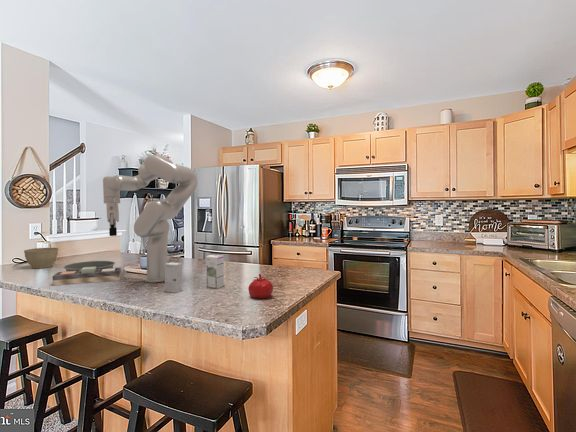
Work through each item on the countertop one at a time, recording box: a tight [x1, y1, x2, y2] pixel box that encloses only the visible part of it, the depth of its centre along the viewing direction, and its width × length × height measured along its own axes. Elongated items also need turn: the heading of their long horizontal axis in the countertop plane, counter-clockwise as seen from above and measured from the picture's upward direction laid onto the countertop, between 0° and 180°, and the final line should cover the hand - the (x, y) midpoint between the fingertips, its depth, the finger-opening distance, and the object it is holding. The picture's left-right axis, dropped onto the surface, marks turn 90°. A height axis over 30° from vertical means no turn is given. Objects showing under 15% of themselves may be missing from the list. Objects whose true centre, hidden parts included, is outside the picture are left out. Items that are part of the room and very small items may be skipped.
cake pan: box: [63, 260, 116, 271], centre depth 175 cm, size 25×25×4 cm
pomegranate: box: [247, 273, 274, 299], centre depth 127 cm, size 10×10×9 cm
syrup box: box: [206, 253, 225, 290], centre depth 142 cm, size 6×6×14 cm
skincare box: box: [164, 261, 183, 294], centre depth 135 cm, size 6×4×12 cm
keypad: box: [52, 267, 122, 287], centre depth 154 cm, size 27×10×4 cm, turn 114°
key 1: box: [60, 271, 76, 275], centre depth 150 cm, size 6×6×2 cm
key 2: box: [101, 267, 116, 272], centre depth 157 cm, size 6×6×2 cm
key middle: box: [81, 267, 96, 273], centre depth 154 cm, size 6×6×2 cm
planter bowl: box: [23, 247, 59, 269], centre depth 187 cm, size 16×16×11 cm
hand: (113, 235), depth 162 cm, fingers closed
